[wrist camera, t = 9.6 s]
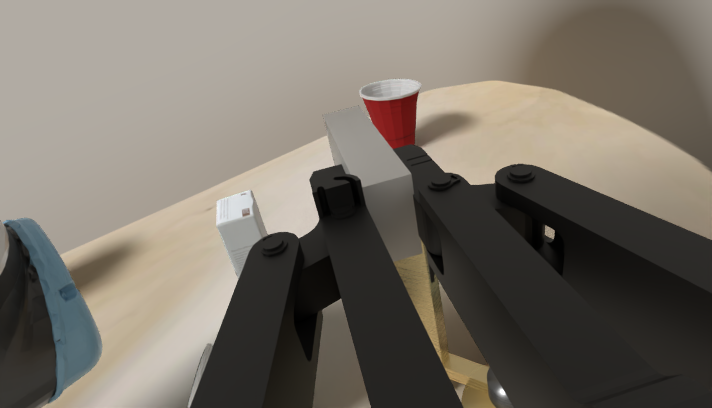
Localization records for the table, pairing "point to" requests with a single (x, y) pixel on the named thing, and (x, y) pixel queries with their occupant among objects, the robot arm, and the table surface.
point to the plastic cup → (393, 109)
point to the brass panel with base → (482, 390)
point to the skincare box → (239, 226)
